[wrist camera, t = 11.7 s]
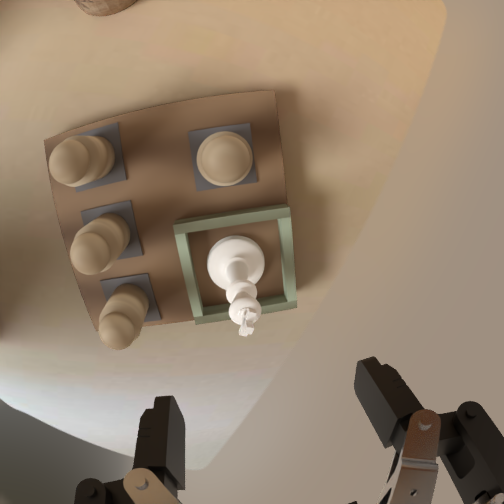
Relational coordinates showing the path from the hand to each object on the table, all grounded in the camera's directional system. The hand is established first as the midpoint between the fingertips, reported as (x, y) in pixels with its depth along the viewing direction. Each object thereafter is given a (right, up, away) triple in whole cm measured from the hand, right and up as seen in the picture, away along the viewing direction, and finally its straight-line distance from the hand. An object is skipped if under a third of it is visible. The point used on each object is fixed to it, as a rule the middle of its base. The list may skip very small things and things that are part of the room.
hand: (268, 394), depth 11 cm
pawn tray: (-8, +9, +14) cm, 18 cm away
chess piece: (-2, +5, +14) cm, 15 cm away
